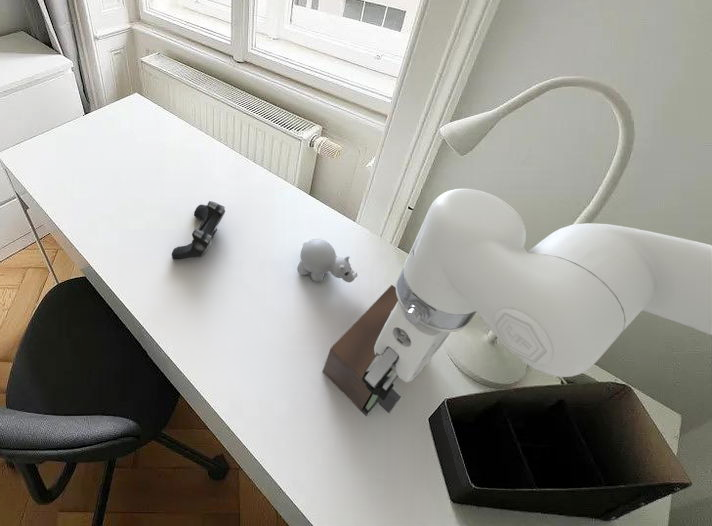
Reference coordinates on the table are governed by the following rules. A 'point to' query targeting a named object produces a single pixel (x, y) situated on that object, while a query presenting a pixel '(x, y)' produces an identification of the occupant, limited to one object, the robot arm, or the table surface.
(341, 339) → the cabinet
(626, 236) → the robot arm
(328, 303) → the table surface
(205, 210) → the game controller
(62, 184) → the table surface
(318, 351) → the table surface
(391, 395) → the sliding door
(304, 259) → the round bodied animal figurine
